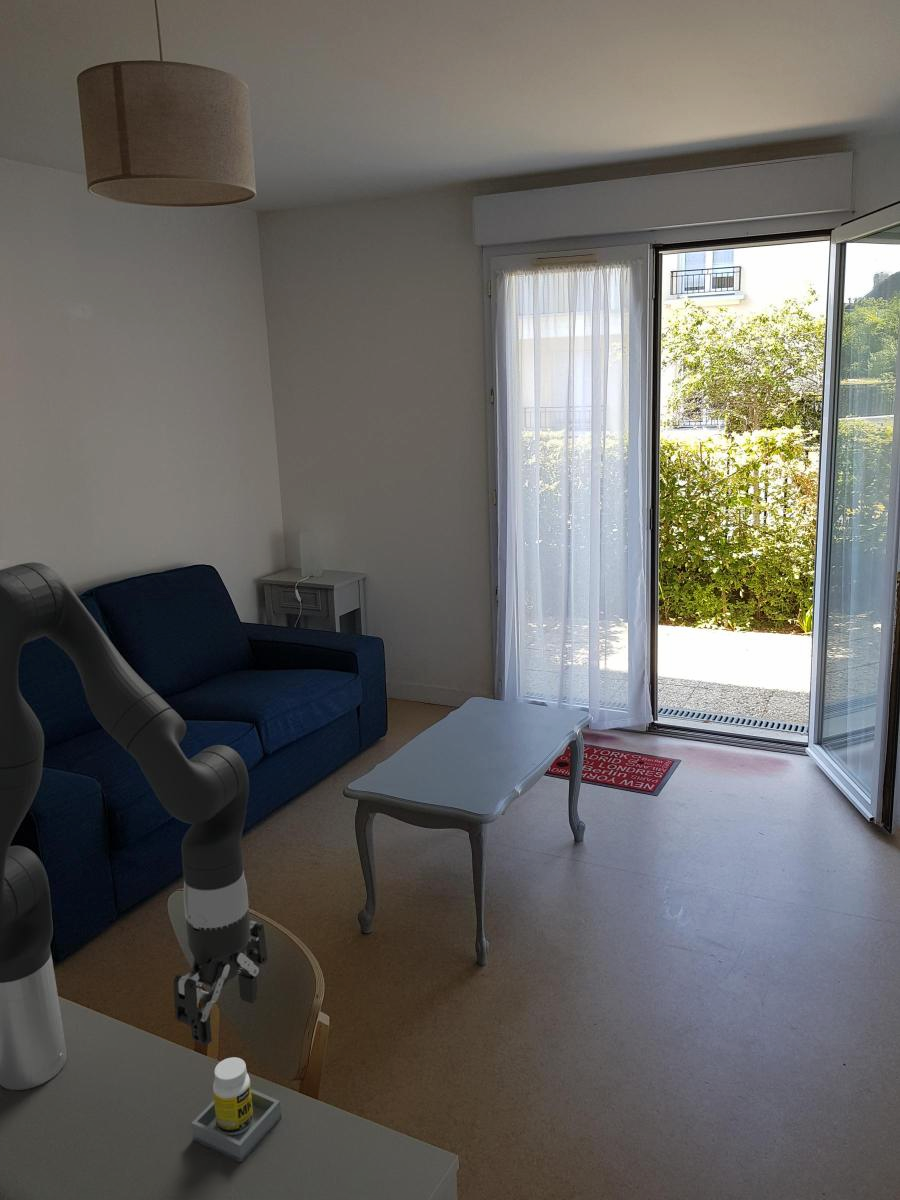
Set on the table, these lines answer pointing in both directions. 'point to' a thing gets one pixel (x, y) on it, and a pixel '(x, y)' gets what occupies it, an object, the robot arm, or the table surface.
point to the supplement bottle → (232, 1097)
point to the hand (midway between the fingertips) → (226, 1020)
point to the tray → (245, 1142)
